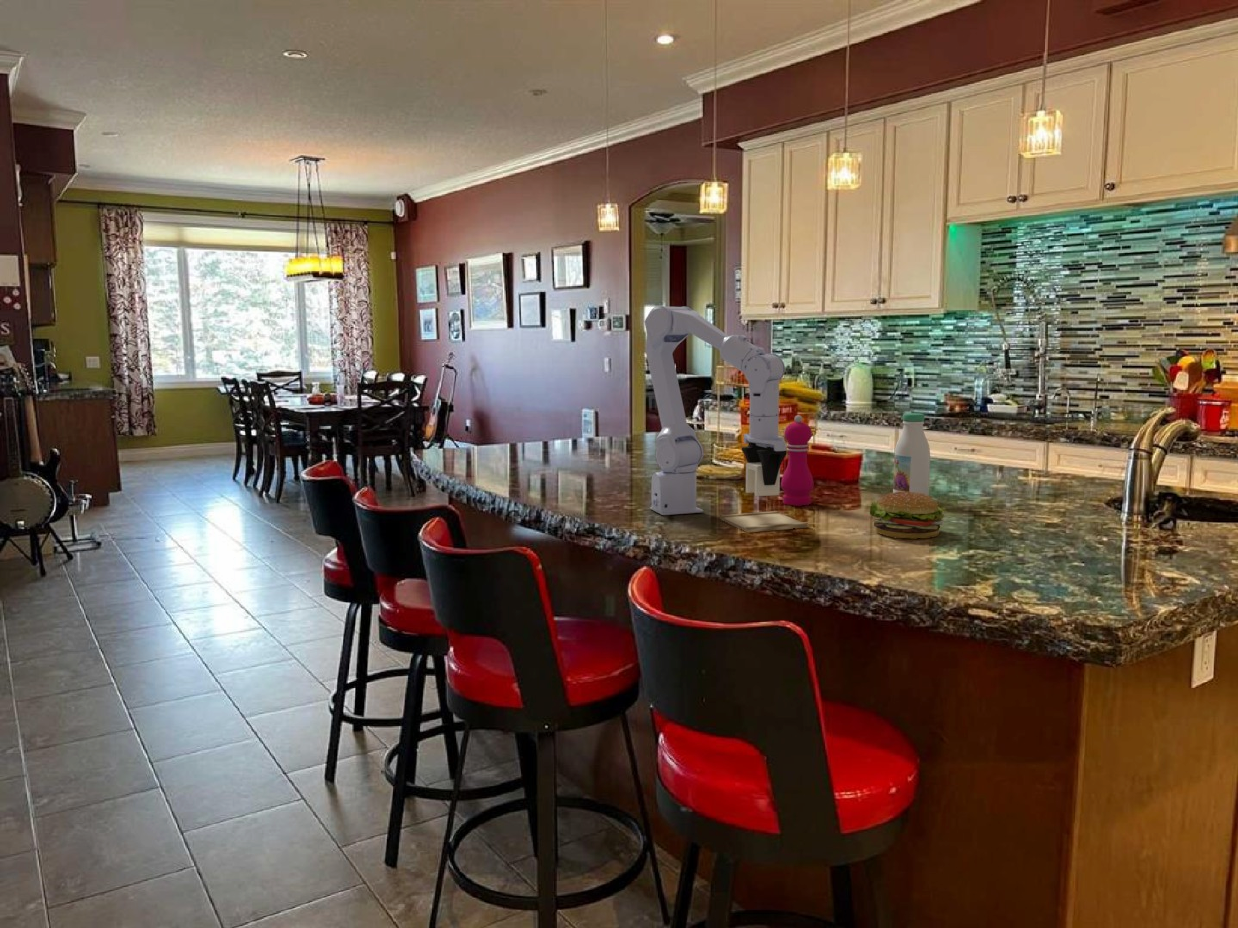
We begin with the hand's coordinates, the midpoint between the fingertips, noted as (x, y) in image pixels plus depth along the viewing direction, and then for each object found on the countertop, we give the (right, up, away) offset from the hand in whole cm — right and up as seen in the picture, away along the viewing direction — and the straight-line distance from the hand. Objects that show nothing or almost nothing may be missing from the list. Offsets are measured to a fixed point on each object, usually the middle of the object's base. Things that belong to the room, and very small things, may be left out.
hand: (763, 482), depth 178 cm
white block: (0, -2, 0) cm, 2 cm away
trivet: (0, -8, +1) cm, 8 cm away
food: (+26, -10, -8) cm, 29 cm away
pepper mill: (+11, -5, +22) cm, 26 cm away
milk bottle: (+37, -5, +23) cm, 44 cm away
